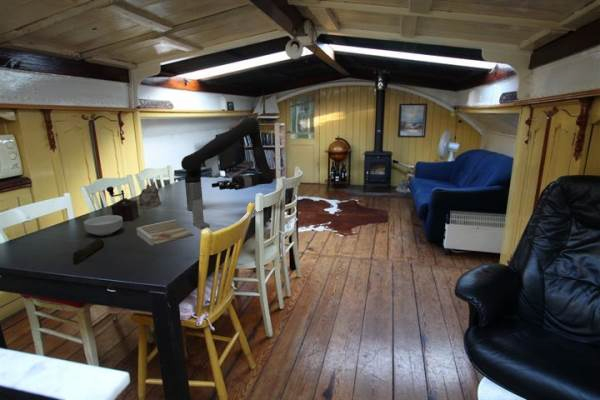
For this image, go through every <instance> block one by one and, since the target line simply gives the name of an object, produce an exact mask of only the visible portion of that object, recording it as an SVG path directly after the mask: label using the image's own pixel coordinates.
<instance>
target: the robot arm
mask: <svg viewBox="0 0 600 400" xmlns="http://www.w3.org/2000/svg"><path fill="white" fill-rule="evenodd" d="M246 137H249V141H250V144H251V149H252V155H253V160H254V163H255V166H256V169H258V170H260V172H258V173H252V174H243V175H236V176H233V177H232V178H231V180H229V179H225V180H217V181H216V182H213V183H211V188H219V190H220V191H222V190H230V191H231V190H235V191H239V190H243V189H247V188H253V187H256V186H259V185H268V184H269V185H270V184H272V183H273V182H274V180H275V178H274V177H275V176H274V173H273V171H272V168H271V167H270V166H269V162H268V158H267V156H266V152H265V148H264V145H263V142H262V136H261V129H260V122H259V120H258V119H257V118H255V117H249V116H248V117H246V118H244V119H243V120H242V121H241V122H240V123H238V124H237V125H236V126H234V127H232V128H231V129H229V130H227V131H225V132H223V133H221V134H220V135H218V136H216V137H214V138H213V139H212V140H210V141H209V142H207V143H206V144H205V145H204V146H202V147H201V148H199V149H198V150H196V151H194V152H192V153H191V154H188V155H185V156H184V157H182V160H181V162H180V165H181V168H182V169H183V170H184V171H185V176H184V185H185V186H184V187H185V197H186V207H187V211H189V212H192V203H191V200H193V199H198V198H201V199H202V205H203V206H204V203H203V202H204V201H203V189H202V164H203V163H205V162H206V161H209V160H210V159H212V158H215V157H217V156H220V155H221V154H223V153H224V152H227V151H228V150H229V149H231V148H232V147H233V146H234V145H235V144H236V143H238V142H239V141H240V140H241V139H244V138H246Z"/></svg>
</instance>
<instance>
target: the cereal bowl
mask: <svg viewBox="0 0 600 400" xmlns="http://www.w3.org/2000/svg"><path fill="white" fill-rule="evenodd" d="M123 224H124V222H123V218H122V217H121V216H117V215H112V214H109V215H101V216H96V217H92V218H89V219H86V220H85V221H83V227H84V228H85V229H84V230H86V232H87V233H90V234H92V235H96V236H98V235H99V237H101V236H103V237H104V235H105V236H109V235H113V234H114V233H115V232H116V231H119V230H120V229H121V227H122V226H123Z"/></svg>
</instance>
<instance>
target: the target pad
mask: <svg viewBox="0 0 600 400" xmlns="http://www.w3.org/2000/svg"><path fill="white" fill-rule="evenodd" d="M147 233H148V234H149V235H151V236H152V237H153V238H154V246H155V245H160V244H162V243H168V242H171V241H176V240H180V239H184V238H189V237H192V236H194V234H193V233H192V232H190V231H189V230H187V229H185V228H184V227H183V226H180V225H178V226H173V227H169V228H164V229H160V230H155V231H151V232H147Z"/></svg>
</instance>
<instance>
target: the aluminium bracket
mask: <svg viewBox="0 0 600 400" xmlns="http://www.w3.org/2000/svg"><path fill="white" fill-rule="evenodd" d="M202 199H203V198H202ZM202 199H201V198H198V199H193V200H191V203H192V211H191V212H192V213H191V214H192V222H193V224H192V225H193V226H194V227H195V228H197V229H198V230H203V229H207V228H206V227H208V228H210V223H208V222H206V221H205V220H204V219H205V218H204V204H203V205H202Z"/></svg>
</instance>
